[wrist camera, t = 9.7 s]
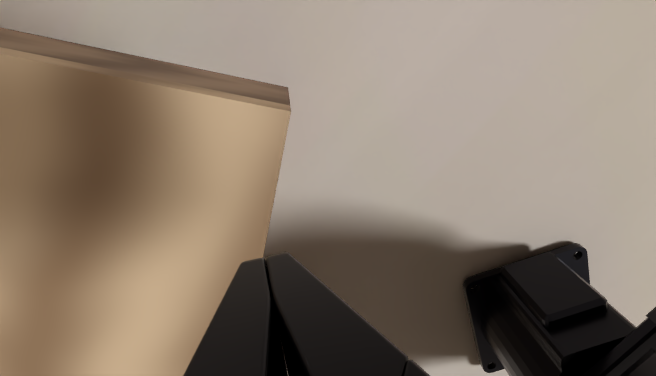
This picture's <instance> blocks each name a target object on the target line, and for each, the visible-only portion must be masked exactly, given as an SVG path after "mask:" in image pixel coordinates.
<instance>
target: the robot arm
mask: <svg viewBox="0 0 656 376" xmlns="http://www.w3.org/2000/svg"><path fill="white" fill-rule="evenodd" d="M576 252H577V253H576ZM575 253H576V255H574V254H575ZM573 255H574V256H573ZM266 266H267V267H266ZM474 285H476V287H475V288H473V289H471V287H472V286H474ZM463 290H464V295H465V299H466V303H467V308H468V312H469V317H470V321H471V325H472V330H473V334H474V339H475V343H476V347H477V352H478V356H479V361H480V364H481V366H482V368H483V369H484V371H485V372H487V373H492V372H496V371H499V370H502V369H506V371H507V373H508V374H509V376H656V307H655V308H654V309H653V310H652V311H651V312H649V313H648V314H647V315H646V316H647V317H648V318H647V319H646V320H644V321H643V322H642V323H641V324H640V325H639V326H638V327H635V326H634V325H633V324H632V323H631V322H630V321H628V320H627V319H626V318H625V317H624V316H623V315H621V314H620V313H619V312H618V311H617V310H616V309H615V308H613V307H612V306H611V305H610V304H609V303H608V302H607V300H606V298H605V297H604V296H602V295H601V294H600V293H599V292H598V291H597V290H595V289H594V288H593V287H592V286H591V285H590V280H589V268H588V256H587V251H586V249H585V248H584V247H582V246H581V245H580V244H577V243H574V244H570V245H567V246H564V247H561V248H558V249H554V250H551V251H548V252H545V253H542V254H539V255H536V256H533V257H530V258H527V259H524V260H521V261H518V262H515V263H512V264H509V265H505V266H502V267H499V268H496V269H493V270H490V271H487V272H484V273H481V274H478V275H475V276H472V277H469V278H467V279H466V280H465V281H464V283H463ZM280 337H281V338H280ZM281 342H282V343H281ZM282 347H283V348H282ZM283 352H284V353H283ZM284 357H285V358H284ZM285 362H286V363H285ZM489 363H490V364H489ZM286 366H287V369H286ZM287 371H288V375H289V376H430V375H429V374H427V373H426V372H425V371H424V370H423V369H422V368H421V367H420V366H418V365H417V364H416V363H415V362H414V361H413V360H408V357H407V355H405V354H404V353H403V352H402V351H401V350H400V349H399V348H397V347H396V346H395V345H394V344H393V343H392V342H391V341H389V340H388V339H387V338H386V337H385V336H384V335H382V334H381V333H380V332H379V331H378V330H377V329H376V328H374V327H373V326H372V325H371V324H370V323H369V322H368V321H366V320H365V319H364V318H363V317H362V316H361V315H359V314H358V313H357V312H356V311H355V310H354V309H353V308H351V307H350V306H349V305H348V304H347V303H346V302H344V301H343V300H342V299H341V298H340V297H339V296H338V295H336V294H335V293H334V292H333V291H332V290H331V289H330V288H328V287H327V286H326V285H325V284H324V283H323V282H321V281H320V280H319V279H318V278H317V277H316V276H315V275H313V274H312V273H311V272H310V271H309V270H308V269H307V268H305V267H304V266H303V265H302V264H301V263H300V262H298V261H297V260H296V259H295V258H294V257H293V256H292V255H290V254H289V253H287V252H284V253H279V254H275V255H270V256H267V257H266V263H265V260H264V259H263V258H257V259H252V260H248V261H244V262H242V263H241V264H240V265H239V267H238V269H237V271H236V273H235V275H234V277H233V279H232V281H231V283H230V285H229V287H228V289H227V291H226V293H225V295H224V297H223V299H222V301H221V303H220V305H219V307H218V308H217V310H216V312H215V314H214V316H213V318H212V320H211V322H210V324H209V326H208V328H207V330H206V332H205V334H204V336H203V338H202V340H201V342H200V344H199V346H198V348H197V349H196V351H195V353H194V355H193V357H192V359H191V361H190V363H189V365H188V367H187V369H186V371H185V373H184V375H183V376H288V375H287Z"/></svg>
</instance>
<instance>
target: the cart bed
mask: <svg viewBox="0 0 656 376" xmlns="http://www.w3.org/2000/svg"><path fill="white" fill-rule="evenodd" d="M290 113H291V109H290V100H289V92H288V88H287V87H283V86H278V85H273V84H268V83H263V82H259V81H254V80H249V79H244V78H239V77H235V76H230V75H225V74H220V73H216V72H211V71H206V70H201V69H196V68H192V67H187V66H182V65H177V64H172V63H168V62H163V61H158V60H153V59H148V58H144V57H139V56H134V55H129V54H124V53H120V52H115V51H110V50H105V49H100V48H96V47H91V46H86V45H81V44H76V43H72V42H67V41H62V40H57V39H52V38H48V37H43V36H38V35H33V34H28V33H24V32H19V31H14V30H9V29H4V28H0V376H183V375H184V373H185V371H186V369H187V367H188V365H189V363H190V361H191V359H192V357H193V355H194V353H195V351H196V349H197V348H198V346H199V344H200V342H201V340H202V338H203V336H204V334H205V332H206V330H207V328H208V326H209V324H210V322H211V320H212V318H213V316H214V314H215V312H216V310H217V308H218V307H219V305H220V303H221V301H222V299H223V297H224V295H225V293H226V291H227V289H228V287H229V285H230V283H231V281H232V279H233V277H234V275H235V273H236V271H237V269H238V267H239V265H240V264H241V263H242V262H244V261H248V260H252V259H257V258H263V254H264V249H265V244H266V239H267V233H268V228H269V223H270V218H271V213H272V207H273V202H274V197H275V192H276V186H277V181H278V176H279V171H280V166H281V160H282V155H283V150H284V145H285V140H286V134H287V129H288V124H289V119H290Z"/></svg>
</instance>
